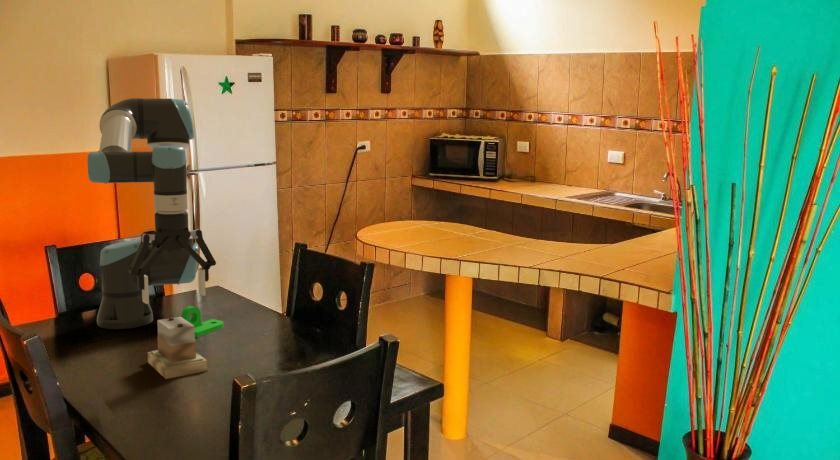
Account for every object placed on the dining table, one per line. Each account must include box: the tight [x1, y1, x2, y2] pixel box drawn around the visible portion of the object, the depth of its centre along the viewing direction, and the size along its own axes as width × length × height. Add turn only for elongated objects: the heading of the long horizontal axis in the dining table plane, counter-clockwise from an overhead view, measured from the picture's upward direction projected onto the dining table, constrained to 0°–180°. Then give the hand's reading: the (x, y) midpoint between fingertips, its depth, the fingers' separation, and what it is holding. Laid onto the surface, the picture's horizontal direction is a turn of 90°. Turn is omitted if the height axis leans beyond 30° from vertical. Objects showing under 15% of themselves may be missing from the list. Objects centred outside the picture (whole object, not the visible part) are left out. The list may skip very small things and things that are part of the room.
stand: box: [147, 349, 208, 380], centre depth 181 cm, size 14×10×3 cm
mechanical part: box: [180, 305, 225, 339], centre depth 210 cm, size 12×6×8 cm, turn 152°
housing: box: [156, 316, 197, 363], centre depth 180 cm, size 6×10×8 cm, turn 36°
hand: (174, 298), depth 179 cm, fingers open, 13 cm apart
